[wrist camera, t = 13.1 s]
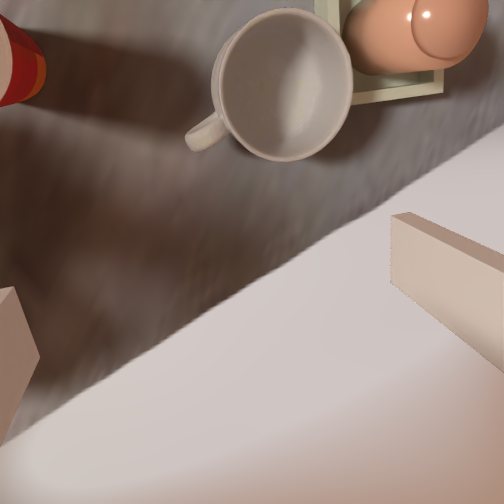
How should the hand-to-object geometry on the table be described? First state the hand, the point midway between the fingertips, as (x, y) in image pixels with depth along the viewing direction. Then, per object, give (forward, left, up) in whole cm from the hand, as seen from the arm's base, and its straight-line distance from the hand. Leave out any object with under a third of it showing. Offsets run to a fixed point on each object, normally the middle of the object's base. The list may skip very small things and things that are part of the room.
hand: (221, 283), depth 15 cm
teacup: (+7, +5, -27) cm, 28 cm away
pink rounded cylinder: (+20, +9, -26) cm, 34 cm away
